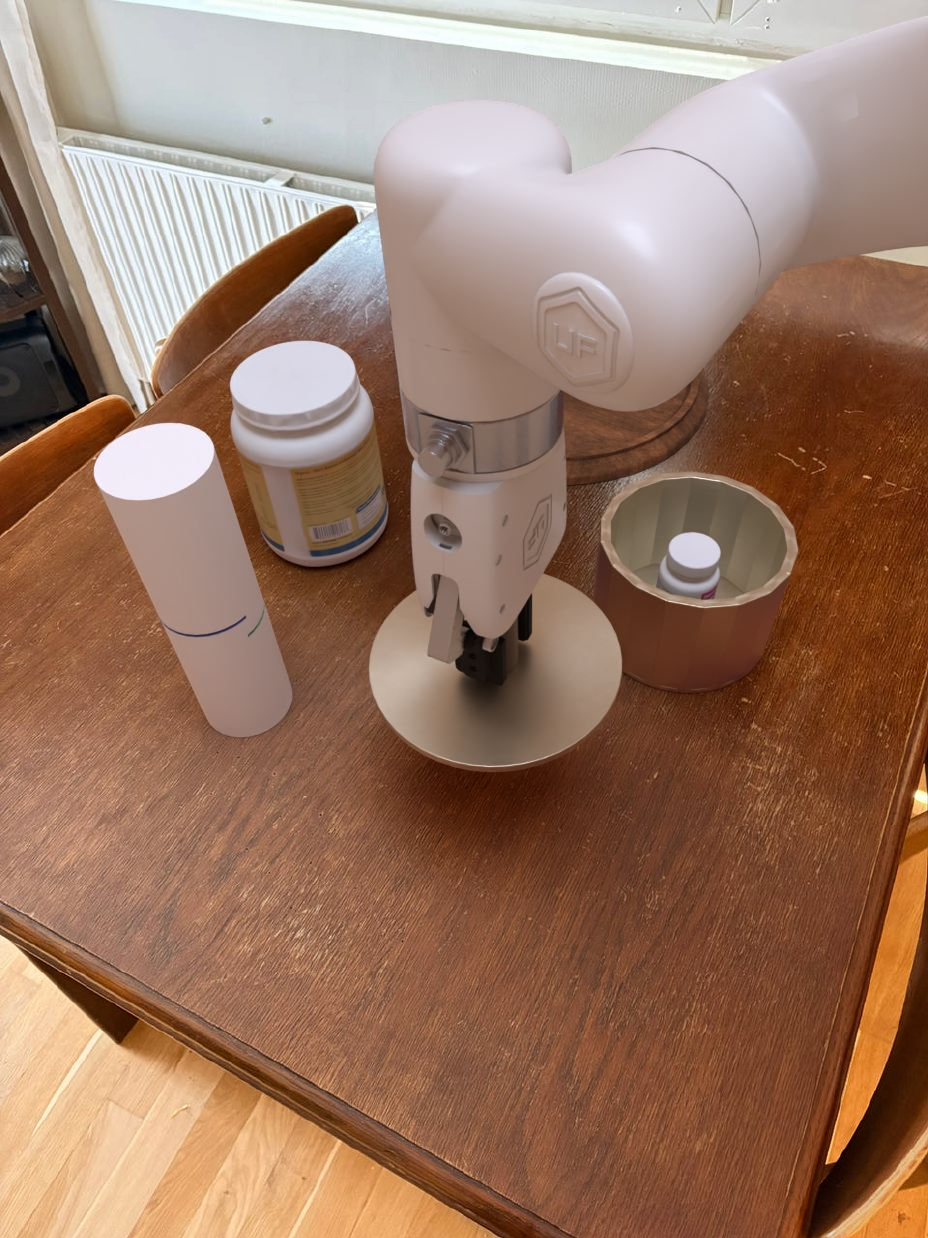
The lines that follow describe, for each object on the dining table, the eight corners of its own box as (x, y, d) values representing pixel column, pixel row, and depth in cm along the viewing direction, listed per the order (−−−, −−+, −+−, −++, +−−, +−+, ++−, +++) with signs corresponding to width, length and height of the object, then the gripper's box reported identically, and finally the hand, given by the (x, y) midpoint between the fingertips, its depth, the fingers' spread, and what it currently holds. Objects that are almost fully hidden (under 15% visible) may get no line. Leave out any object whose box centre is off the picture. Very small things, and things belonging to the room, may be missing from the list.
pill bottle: (701, 647, 74) (719, 578, 67) (644, 633, 75) (657, 564, 68) (712, 606, 77) (730, 535, 70) (657, 593, 78) (670, 522, 71)
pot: (785, 590, 78) (816, 500, 70) (740, 719, 70) (769, 633, 62) (625, 542, 83) (637, 452, 75) (565, 657, 74) (571, 570, 66)
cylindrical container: (187, 699, 73) (72, 460, 54) (260, 651, 76) (175, 408, 57) (236, 753, 69) (130, 518, 50) (310, 700, 72) (237, 459, 53)
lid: (654, 620, 59) (666, 547, 54) (564, 818, 50) (568, 753, 45) (441, 553, 64) (433, 481, 59) (323, 721, 55) (303, 653, 50)
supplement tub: (403, 490, 88) (385, 339, 76) (370, 580, 81) (343, 428, 68) (287, 477, 90) (249, 328, 78) (243, 564, 83) (194, 413, 70)
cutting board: (637, 524, 84) (640, 504, 82) (356, 428, 95) (353, 408, 93) (748, 350, 101) (752, 330, 100) (499, 286, 113) (499, 267, 111)
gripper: (480, 542, 36) (493, 780, 50) (620, 332, 45) (598, 581, 59) (321, 494, 38) (376, 733, 52) (485, 304, 48) (495, 550, 61)
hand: (494, 651), depth 55 cm, fingers closed on lid, 3 cm apart
